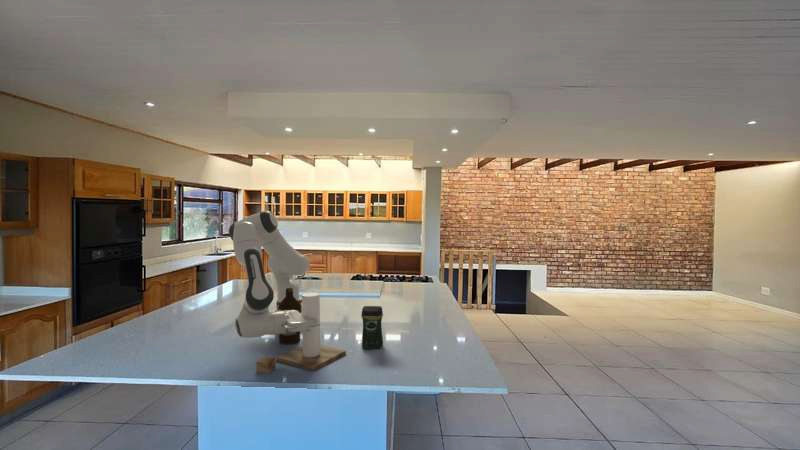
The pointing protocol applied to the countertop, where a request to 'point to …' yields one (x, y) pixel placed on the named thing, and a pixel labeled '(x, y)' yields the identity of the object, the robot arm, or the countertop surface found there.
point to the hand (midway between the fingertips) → (314, 318)
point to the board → (311, 363)
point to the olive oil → (289, 304)
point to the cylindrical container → (313, 333)
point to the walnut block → (266, 364)
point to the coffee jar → (372, 327)
